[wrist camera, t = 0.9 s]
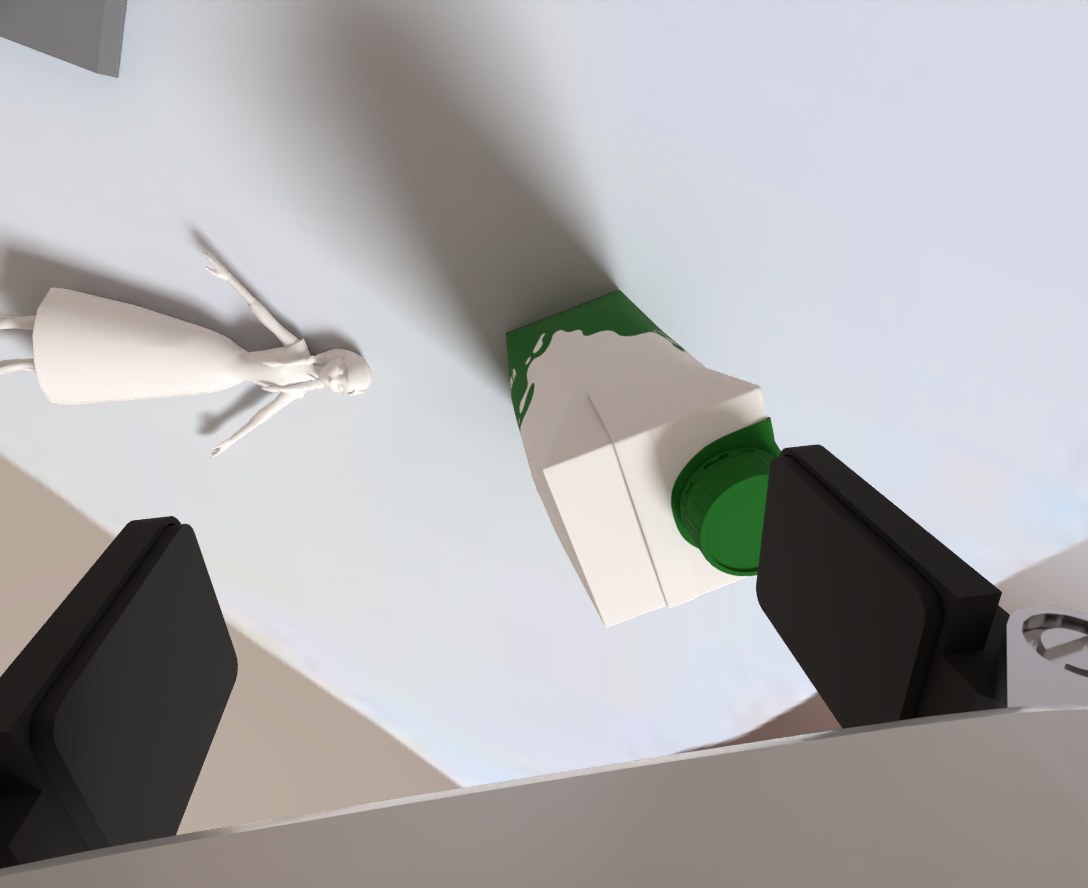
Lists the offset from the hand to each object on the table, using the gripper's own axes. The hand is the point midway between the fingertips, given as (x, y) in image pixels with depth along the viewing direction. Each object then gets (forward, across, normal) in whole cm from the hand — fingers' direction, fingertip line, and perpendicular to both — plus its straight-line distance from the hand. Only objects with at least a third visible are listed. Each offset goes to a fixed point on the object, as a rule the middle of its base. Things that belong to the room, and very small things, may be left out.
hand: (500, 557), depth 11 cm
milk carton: (+28, -6, +6) cm, 30 cm away
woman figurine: (+28, +14, +4) cm, 32 cm away
